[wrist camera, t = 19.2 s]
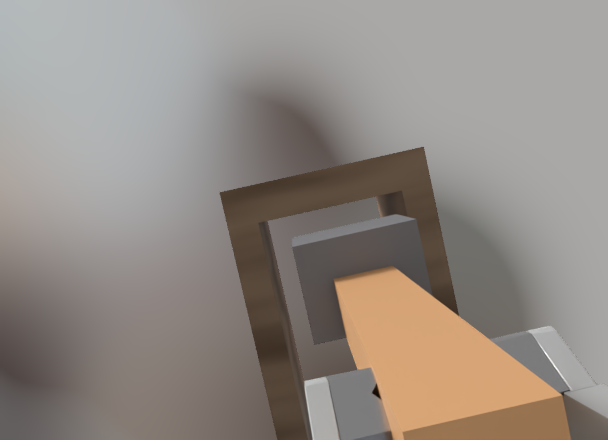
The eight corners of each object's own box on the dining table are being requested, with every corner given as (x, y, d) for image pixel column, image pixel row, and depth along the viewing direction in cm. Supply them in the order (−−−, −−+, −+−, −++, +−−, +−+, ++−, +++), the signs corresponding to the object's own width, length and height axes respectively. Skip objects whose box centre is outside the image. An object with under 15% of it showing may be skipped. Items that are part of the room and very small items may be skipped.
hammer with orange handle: (677, 529, 8) (629, 269, 8) (350, 604, 8) (291, 346, 8) (413, 296, 25) (396, 214, 25) (310, 319, 25) (292, 237, 24)
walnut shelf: (519, 605, 29) (423, 146, 28) (326, 650, 29) (219, 192, 27) (465, 507, 38) (390, 157, 37) (318, 541, 38) (237, 192, 36)
